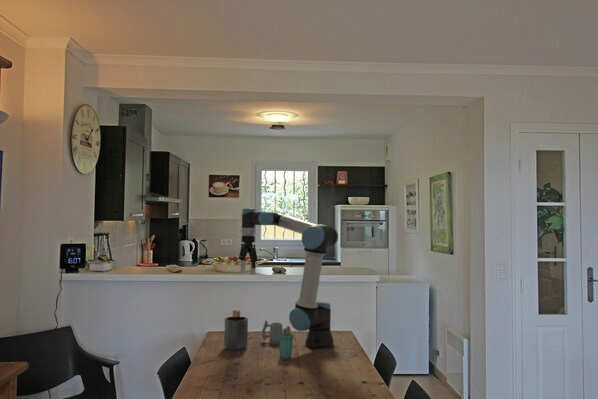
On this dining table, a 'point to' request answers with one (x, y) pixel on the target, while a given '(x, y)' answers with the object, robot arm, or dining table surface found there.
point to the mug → (272, 331)
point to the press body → (236, 334)
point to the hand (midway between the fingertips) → (247, 272)
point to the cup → (285, 343)
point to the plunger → (236, 315)
